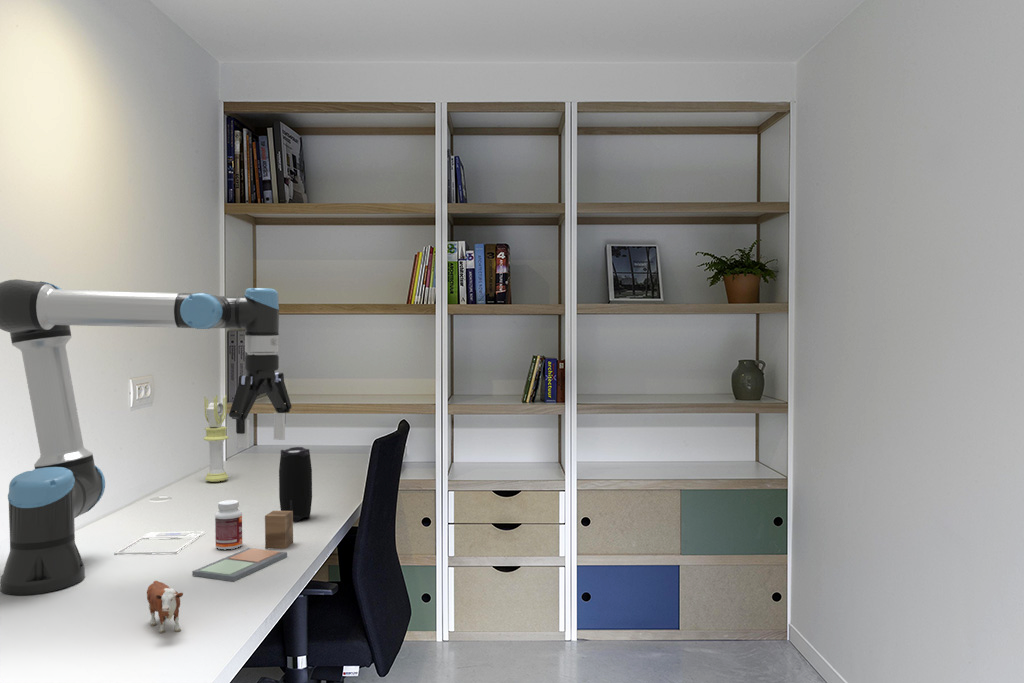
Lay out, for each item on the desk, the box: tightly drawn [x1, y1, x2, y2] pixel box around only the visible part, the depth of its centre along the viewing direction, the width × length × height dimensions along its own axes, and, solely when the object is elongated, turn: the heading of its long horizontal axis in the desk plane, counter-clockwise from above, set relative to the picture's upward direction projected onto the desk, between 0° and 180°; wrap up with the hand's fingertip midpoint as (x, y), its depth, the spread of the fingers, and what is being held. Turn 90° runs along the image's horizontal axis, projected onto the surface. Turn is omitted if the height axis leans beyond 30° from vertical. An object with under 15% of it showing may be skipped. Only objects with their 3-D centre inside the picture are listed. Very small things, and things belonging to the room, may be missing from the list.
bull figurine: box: [146, 580, 184, 634], centre depth 135 cm, size 4×13×8 cm, turn 36°
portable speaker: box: [278, 446, 313, 523], centre depth 211 cm, size 9×9×20 cm
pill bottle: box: [214, 499, 243, 551], centre depth 184 cm, size 6×6×11 cm
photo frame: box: [113, 530, 207, 556], centre depth 188 cm, size 15×1×18 cm
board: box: [191, 547, 288, 582], centre depth 170 cm, size 18×11×1 cm, turn 160°
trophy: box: [202, 394, 230, 483], centre depth 263 cm, size 8×8×30 cm
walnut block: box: [264, 510, 294, 550], centre depth 185 cm, size 5×5×8 cm
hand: (261, 443), depth 179 cm, fingers open, 13 cm apart
